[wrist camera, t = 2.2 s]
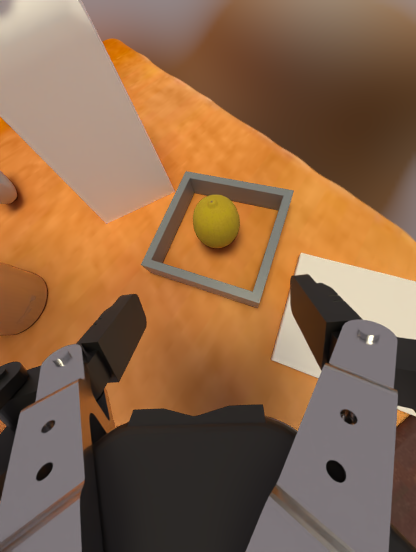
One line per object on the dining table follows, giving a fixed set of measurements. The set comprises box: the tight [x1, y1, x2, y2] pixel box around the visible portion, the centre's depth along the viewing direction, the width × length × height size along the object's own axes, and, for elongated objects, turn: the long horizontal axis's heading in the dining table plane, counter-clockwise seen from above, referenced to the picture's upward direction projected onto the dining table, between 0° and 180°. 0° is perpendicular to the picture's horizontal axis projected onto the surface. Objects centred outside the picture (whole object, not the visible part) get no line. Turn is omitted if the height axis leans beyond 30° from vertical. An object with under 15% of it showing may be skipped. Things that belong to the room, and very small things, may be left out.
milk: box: [0, 0, 175, 224], centre depth 22 cm, size 12×12×26 cm
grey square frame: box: [141, 171, 294, 308], centre depth 27 cm, size 15×15×3 cm
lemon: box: [193, 194, 240, 248], centre depth 25 cm, size 6×6×8 cm
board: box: [271, 253, 416, 416], centre depth 22 cm, size 13×13×1 cm
